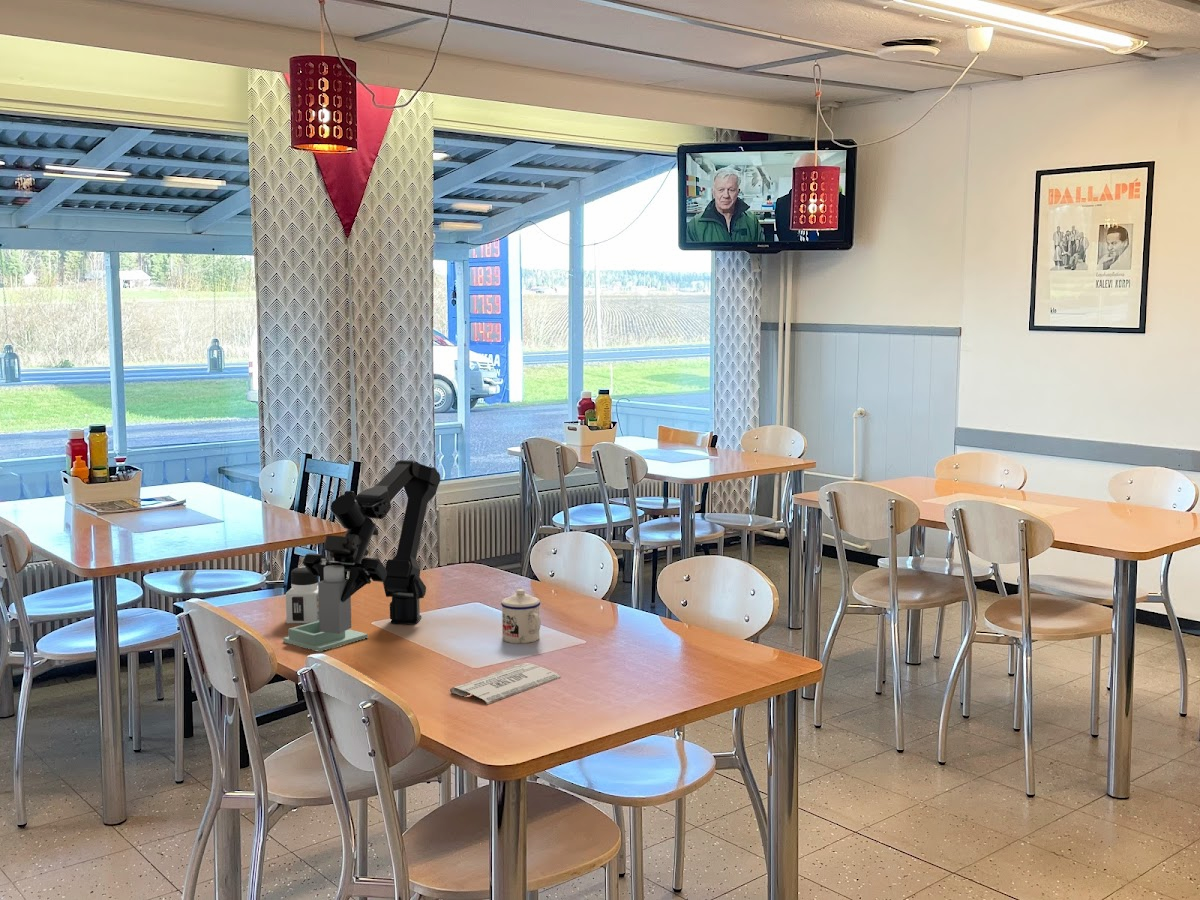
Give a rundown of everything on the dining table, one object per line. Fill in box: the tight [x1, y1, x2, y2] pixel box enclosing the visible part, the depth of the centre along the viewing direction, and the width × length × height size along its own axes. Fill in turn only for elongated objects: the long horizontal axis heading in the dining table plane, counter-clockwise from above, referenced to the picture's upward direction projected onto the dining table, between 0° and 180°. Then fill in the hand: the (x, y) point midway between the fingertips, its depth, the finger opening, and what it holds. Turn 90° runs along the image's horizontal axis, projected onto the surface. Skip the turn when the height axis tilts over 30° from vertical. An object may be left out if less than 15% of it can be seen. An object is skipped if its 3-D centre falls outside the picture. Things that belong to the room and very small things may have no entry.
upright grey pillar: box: [318, 565, 352, 634], centre depth 254 cm, size 5×5×14 cm
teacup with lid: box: [500, 588, 542, 644], centre depth 269 cm, size 12×9×12 cm
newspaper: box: [449, 662, 562, 705], centre depth 238 cm, size 23×12×2 cm, turn 141°
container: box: [285, 566, 320, 624], centre depth 286 cm, size 8×8×13 cm
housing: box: [282, 621, 369, 653], centre depth 269 cm, size 14×13×4 cm
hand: (331, 600), depth 253 cm, fingers closed on upright grey pillar, 5 cm apart
